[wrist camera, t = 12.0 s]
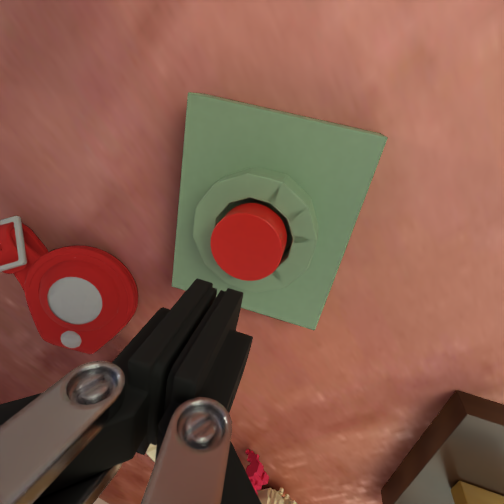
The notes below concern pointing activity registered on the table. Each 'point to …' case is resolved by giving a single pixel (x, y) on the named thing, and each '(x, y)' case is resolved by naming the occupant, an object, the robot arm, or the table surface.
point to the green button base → (272, 198)
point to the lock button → (249, 242)
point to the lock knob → (474, 495)
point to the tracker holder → (69, 288)
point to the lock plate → (453, 454)
